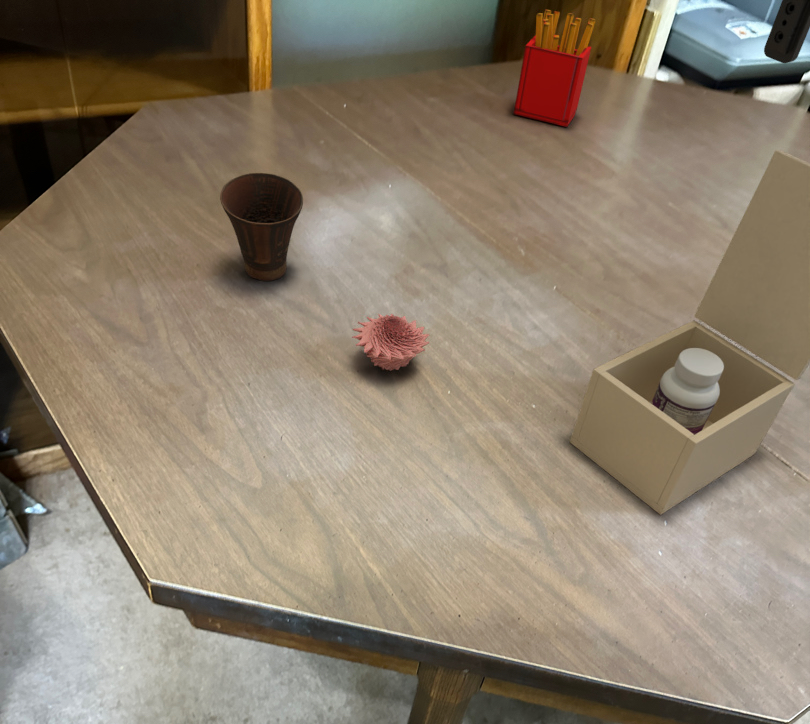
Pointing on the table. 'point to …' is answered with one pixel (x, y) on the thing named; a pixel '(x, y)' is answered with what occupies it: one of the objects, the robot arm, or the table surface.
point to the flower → (391, 341)
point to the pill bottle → (690, 388)
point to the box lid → (768, 271)
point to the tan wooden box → (661, 435)
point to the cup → (262, 220)
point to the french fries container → (553, 70)
